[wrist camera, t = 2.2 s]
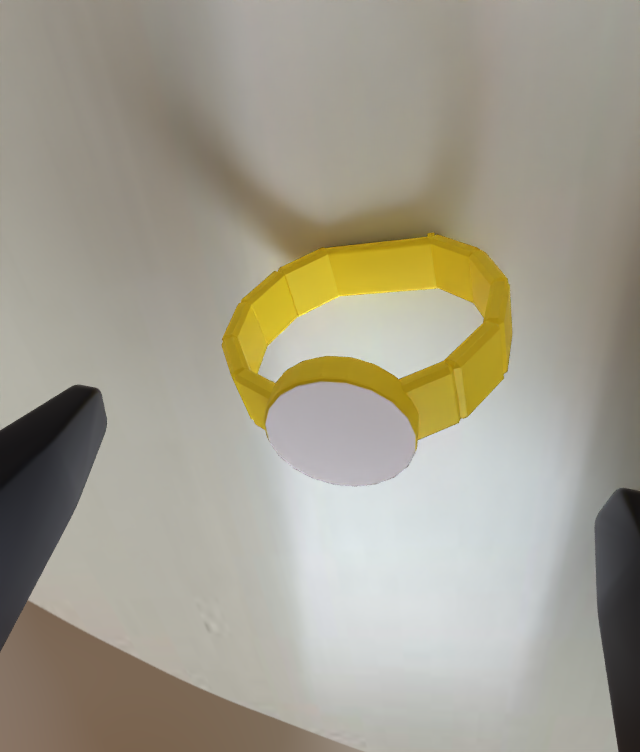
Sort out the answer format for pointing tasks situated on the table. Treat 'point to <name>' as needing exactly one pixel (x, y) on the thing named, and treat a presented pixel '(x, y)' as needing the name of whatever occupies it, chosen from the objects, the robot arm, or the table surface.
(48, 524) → the robot arm
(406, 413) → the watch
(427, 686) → the table surface
